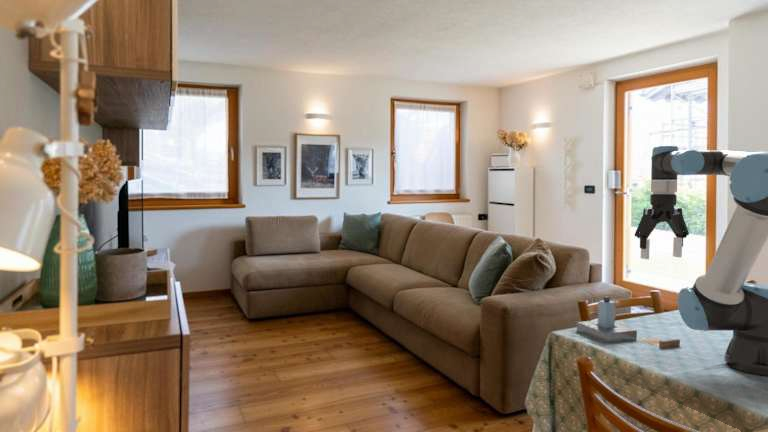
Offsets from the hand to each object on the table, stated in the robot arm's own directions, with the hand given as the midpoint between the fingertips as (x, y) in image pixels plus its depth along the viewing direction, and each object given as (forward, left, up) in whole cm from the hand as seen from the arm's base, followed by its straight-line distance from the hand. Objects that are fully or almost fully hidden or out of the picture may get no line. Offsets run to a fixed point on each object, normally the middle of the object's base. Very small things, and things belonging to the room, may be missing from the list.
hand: (661, 257), depth 170 cm
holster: (-7, +7, -27) cm, 28 cm away
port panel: (+5, +17, -27) cm, 32 cm away
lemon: (+19, +4, -27) cm, 33 cm away
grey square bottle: (+5, +17, -26) cm, 32 cm away
